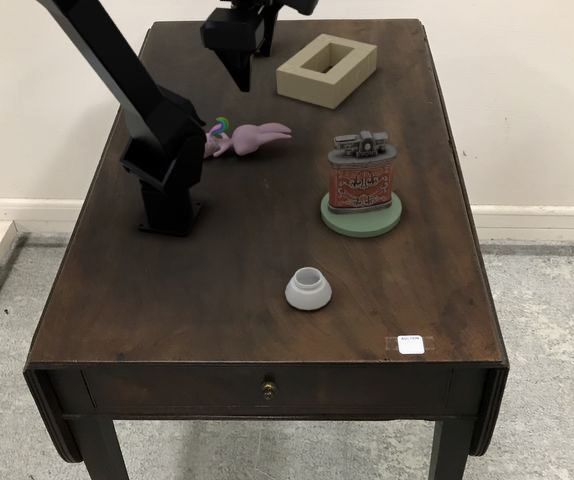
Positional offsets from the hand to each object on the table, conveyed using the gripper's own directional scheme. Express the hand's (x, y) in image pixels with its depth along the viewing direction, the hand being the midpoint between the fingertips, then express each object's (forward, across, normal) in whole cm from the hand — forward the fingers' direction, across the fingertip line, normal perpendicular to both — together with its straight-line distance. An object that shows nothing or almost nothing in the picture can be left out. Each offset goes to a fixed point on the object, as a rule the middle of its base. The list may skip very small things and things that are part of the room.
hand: (256, 73), depth 86 cm
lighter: (+12, -8, -15) cm, 21 cm away
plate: (+13, -8, -15) cm, 21 cm away
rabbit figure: (+13, +2, +4) cm, 14 cm away
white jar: (+13, -24, -12) cm, 30 cm away
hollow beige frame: (+13, +24, -4) cm, 28 cm away
